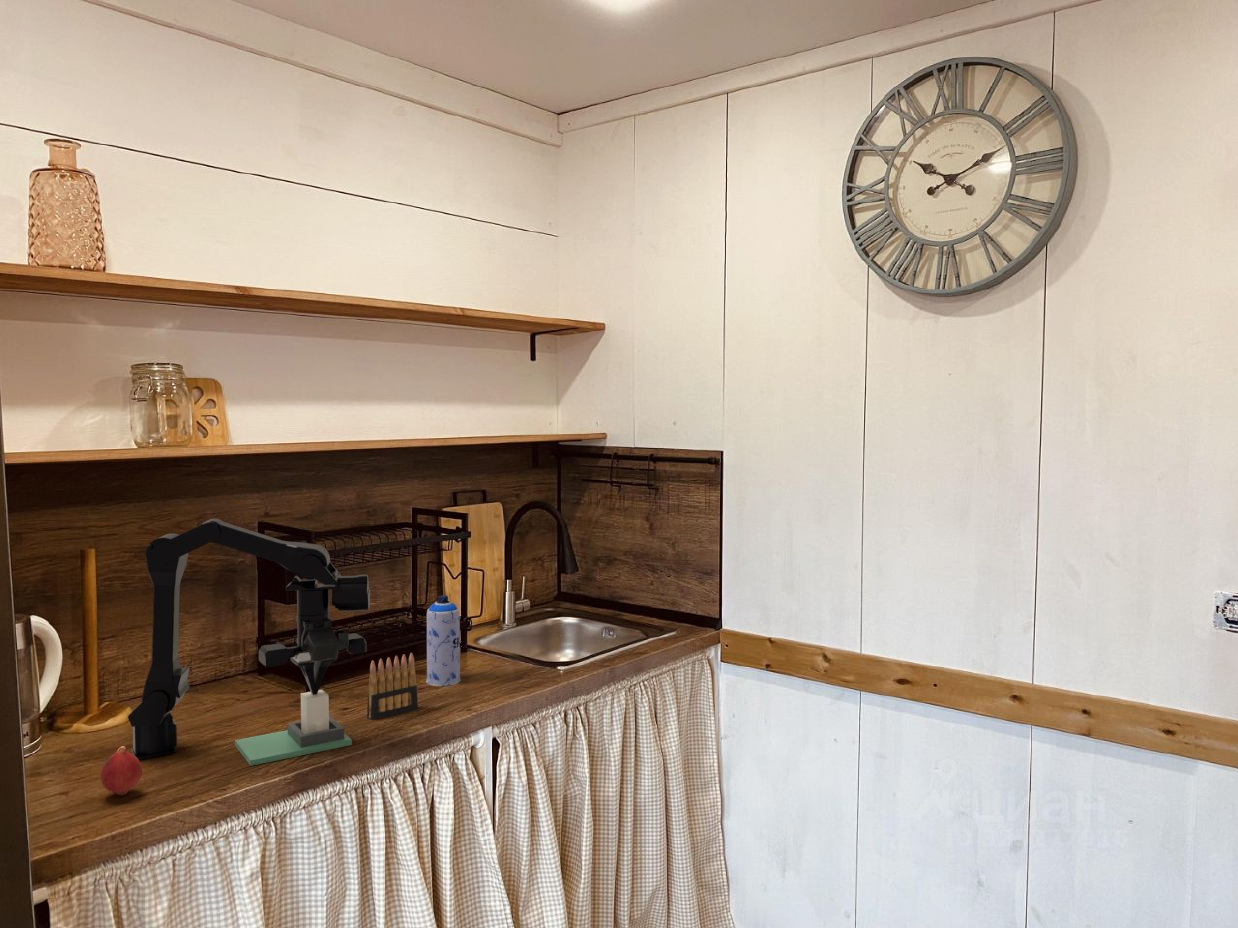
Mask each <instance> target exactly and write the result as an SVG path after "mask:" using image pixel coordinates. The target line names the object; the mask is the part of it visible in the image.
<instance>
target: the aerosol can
mask: <svg viewBox="0 0 1238 928" xmlns="http://www.w3.org/2000/svg"><path fill="white" fill-rule="evenodd" d="M460 614H461V613H460V608H459V607H458V606H457V605H456V604H455V603H453V602H451V601H450V600H449V596H448V595H447V594H446V595H445V594H444V595H440V596H438V597H437V601H435V602H433V603H432V604H431V605H430V606H429V608H428V609H427V610H426V680H425V681H426V684H427V685H429V686H431V687H448V686H454V685H457V684H459V683H460V682H461V681H462V680H461V677H460V676H461V673H460V671H461V667H460V666H461V660H460V659H461V655H460V654H461V653H460V652H461V650H460V648H461V647H460V645H461V643H460V642H461V640H460V636H461V634H460V632H461V631H460V630H461V629H460V628H461V625H460V621H461V619H460V617H461V615H460Z"/></svg>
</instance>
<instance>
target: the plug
mask: <svg viewBox="0 0 1238 928" xmlns="http://www.w3.org/2000/svg"><path fill="white" fill-rule="evenodd" d="M329 698H330V697H329V694H328V693H326V691H324V690H323V689H319V691H318V693H317V694H316V695H312V694H311V691H308V692H300V721H301V731H302V732H303V733H304V734H309V733H314V732H319V731H324V730H329V716H330V712H329V710H330V705H329V703H330V700H329Z"/></svg>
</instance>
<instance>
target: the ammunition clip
mask: <svg viewBox="0 0 1238 928" xmlns="http://www.w3.org/2000/svg"><path fill="white" fill-rule="evenodd" d="M415 667H416V666H415V657H414V654H413V652H410V653H409V657H408V662H407V657H406V654H402V657H401V661H400V660H399V657H398V655H395V657H394V661H393V666H392V660H391V657H390V656H389V657H387V659H386V664H385V667H384V662H383V659H382V658H379V660H378V667H377V669H376V664H375V661H374V660H371V663H370V666H369V681H368V694H367V710H366V711H367V712H366V718H367V719H369V720H371V721H373V720H379V719H382V718H386V717H390V716H394V715H395V716H396V715H399V714H402V713H407V712H411V711H415V710H418V709H419V707H418V706H419V705H418V704H419V703H418V702H419V701H418V688H417V687H418V685H416V683H417V681H416V679H417V678H416V670H415Z"/></svg>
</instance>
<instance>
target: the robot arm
mask: <svg viewBox="0 0 1238 928" xmlns="http://www.w3.org/2000/svg"><path fill="white" fill-rule="evenodd" d="M211 543H213V544H216V545H219V546H223V547H225V548H230V549H233V550H237V551H238V552H239V551H240V552H242V553H246V554H248V555H249V554H250V555H253V556H256V557H259V558H262V559H264V560H265V559H266V560H268V561H272V562H274V563H276V564H279V565H280V566H282V567H283V568H284V569H286V570H287V571H288V572H290V573H293V574H295V576H294V577H293V579H292V581H291V582H289V583H288V584H287V585H286V586H285V591H287V592H291V591H295V592H296V600H297V601H296V606H297V607H296V611H297V612H296V613H297V614H296V615H297V616H295V622H296V623H297V624H296V625H297V637H296V639H295V640H296V644H297V645H295V646H290V647H289V646H287V647H286V646H285V645H284V644H282V643H281V642H280V643H279V642H278V643H273V644H264V645H261V647H260V648H259V649H258V662H260V663H261V665H263V666H265V668H267V667H268V668H270V667H278V666H279V667H280V666H285V665H286V664H287V662H288V661H289V659H290V661H291V663H293V664H294V665H296V666H297V667H299V668H300V670H301V671H302V674H303V676H304V678H305V679H304V680H305V681H306V683H307V684H306V685H307V686H308V689H309V692H311V694H312V695H316V694H317V693H318V691H319V690H320V688H321V684H322V683H323V680H324V675H325V673H326V671H327V670H328V667H329V666H330V665H331V663H333V662H337V660H338V657H339V651H345V650H346V651H347V652H348V653H349V654H350V655H357V654H359V655H360V654H364V653H366V652H368V642H367V639H365V638H364V637H363V636H361V635H359V633H356V632H354V633H349V631H348V630H347V628H344V629H336V630H334V628H333V626H332V618H331V617H330V590H331V605H332V606H331V607H334V608H335V609H337V610H338V613H339V612H341V613H342V612H361V611H362V612H363V611H365V612H367V611H370V606H371V589H370V585H369V575H368V574H358V575H343V576H342V575H341V573H340V572H339V570H338V569H336V567H335V566H334V565H333V563H332V562H331V556H330V554H329V551H328V549H326V548H325V546H323V545H320V544H316V543H308V542H299V541H286V540H281V539H279V538H275V537H272V536H269V535H266V534H262V533H260V532H256V531H253V530H250V529H247V528H244V527H241V526H238V525H235V524H232V523H228V522H225V521H223V520H221V519H219V518H210V519H208V520H206V521H204V522H203V523H202V524H200V525H198V526H197V527H196V526H195V527H194V528H192V529H189V530H187V531H185V532H183V533H180V534H178V533H166V534H165V535H162V536H160V537H157V538H156V539H154V540H151V542H149V544H148V545H147V546H146V548H145V552H144V555H145V556H144V557H145V561H146V567H147V572H148V575H149V578H150V581H151V583H152V586H153V587H152V589H153V595H152V596H153V599H152V631H151V632H152V633H151V634H152V635H151V637H152V638H151V640H152V641H151V643H152V644H151V662H150V667H149V669H148V673H147V676H146V679H145V682H144V687H143V691H142V696H141V702H140V703H139V704H138V705H137V706H136V707H135V708H134V709H133V710H132V712H131V711H130V713H129V714H128V715H127V719H128V721H129V723H130V726H131V727H132V747H131V752H132V754H133V755H135V756H136V757H137V758H138V760H139V761H140V760H143V759H149V758H154V757H155V758H156V757H158V756H164V755H169V754H170V755H171V754H174V753H176V752H177V751H176V750H177V749H176V748H175V747H177V745H178V737H177V735H178V734H177V733H178V731H177V729H178V728H177V727H178V726H177V723H176V722H175V721H174V717H173V715H172V714H171V712H172V711H173V709H174V708H175V707H176V706H177V704H178V703H179V702H180V701H181V700H182V698H183V697H184V695H185V694H186V691H188V689H189V688H190V684H189V681H188V677H189V672H190V667H189V666H185V667H182V666H181V664H180V661H179V660H180V659H179V631H180V627H179V626H180V622H179V621H180V593H181V592H180V589H181V588H180V587H181V586H180V585H181V581H182V578H183V574H184V572H185V570H186V567H187V562H188V558H189V553H191V552H193V551H195V550H197V549H199V548H201V547H204V546H205V545H207V544H211ZM300 577H301V578H303V579H301V578H300ZM318 582H319V583H318Z"/></svg>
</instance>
